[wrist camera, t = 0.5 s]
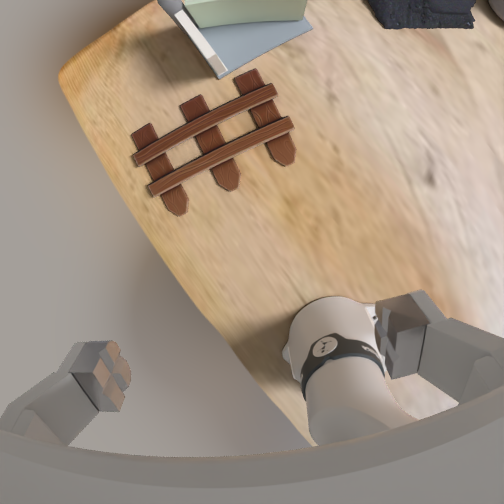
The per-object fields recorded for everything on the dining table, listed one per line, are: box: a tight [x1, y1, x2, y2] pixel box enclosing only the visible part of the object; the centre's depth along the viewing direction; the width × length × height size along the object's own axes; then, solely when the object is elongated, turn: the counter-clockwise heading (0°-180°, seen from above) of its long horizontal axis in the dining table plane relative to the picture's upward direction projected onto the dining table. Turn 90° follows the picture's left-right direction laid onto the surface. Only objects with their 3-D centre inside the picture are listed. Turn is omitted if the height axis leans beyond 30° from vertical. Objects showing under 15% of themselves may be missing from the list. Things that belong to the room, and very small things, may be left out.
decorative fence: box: [132, 68, 296, 216], centre depth 44 cm, size 23×2×15 cm
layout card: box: [187, 16, 313, 80], centre depth 37 cm, size 11×16×1 cm
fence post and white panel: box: [157, 0, 226, 75], centre depth 33 cm, size 11×2×12 cm, turn 32°
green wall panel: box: [185, 0, 307, 28], centre depth 32 cm, size 15×1×9 cm, turn 94°
